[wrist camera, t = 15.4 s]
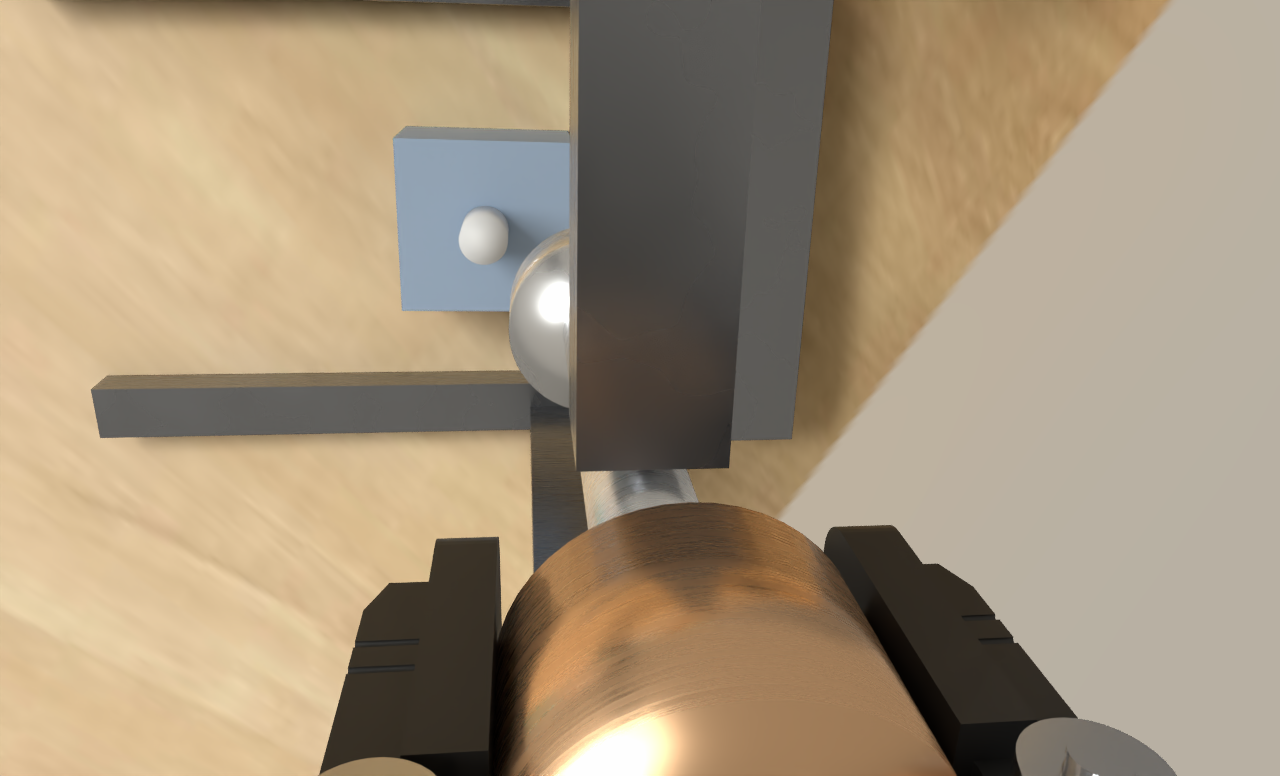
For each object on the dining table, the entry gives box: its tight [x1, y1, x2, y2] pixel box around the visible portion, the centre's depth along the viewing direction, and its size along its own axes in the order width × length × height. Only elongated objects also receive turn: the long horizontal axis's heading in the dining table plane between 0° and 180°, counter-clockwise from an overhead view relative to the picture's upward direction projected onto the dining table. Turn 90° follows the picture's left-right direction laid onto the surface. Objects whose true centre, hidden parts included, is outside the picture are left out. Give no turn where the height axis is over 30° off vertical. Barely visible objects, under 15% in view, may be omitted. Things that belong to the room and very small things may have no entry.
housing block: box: [393, 126, 570, 311], centre depth 34 cm, size 6×6×6 cm
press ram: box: [492, 228, 957, 776], centre depth 15 cm, size 4×4×17 cm
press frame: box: [91, 0, 834, 574], centre depth 24 cm, size 22×27×26 cm
